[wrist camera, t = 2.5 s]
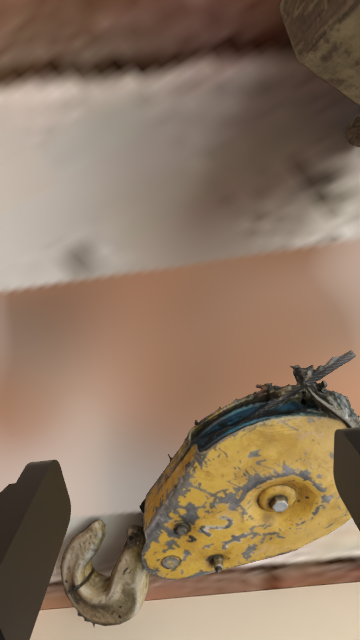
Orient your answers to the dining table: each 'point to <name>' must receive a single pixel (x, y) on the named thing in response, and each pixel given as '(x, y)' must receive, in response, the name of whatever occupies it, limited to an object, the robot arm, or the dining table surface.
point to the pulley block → (226, 496)
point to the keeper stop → (224, 617)
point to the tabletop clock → (328, 44)
